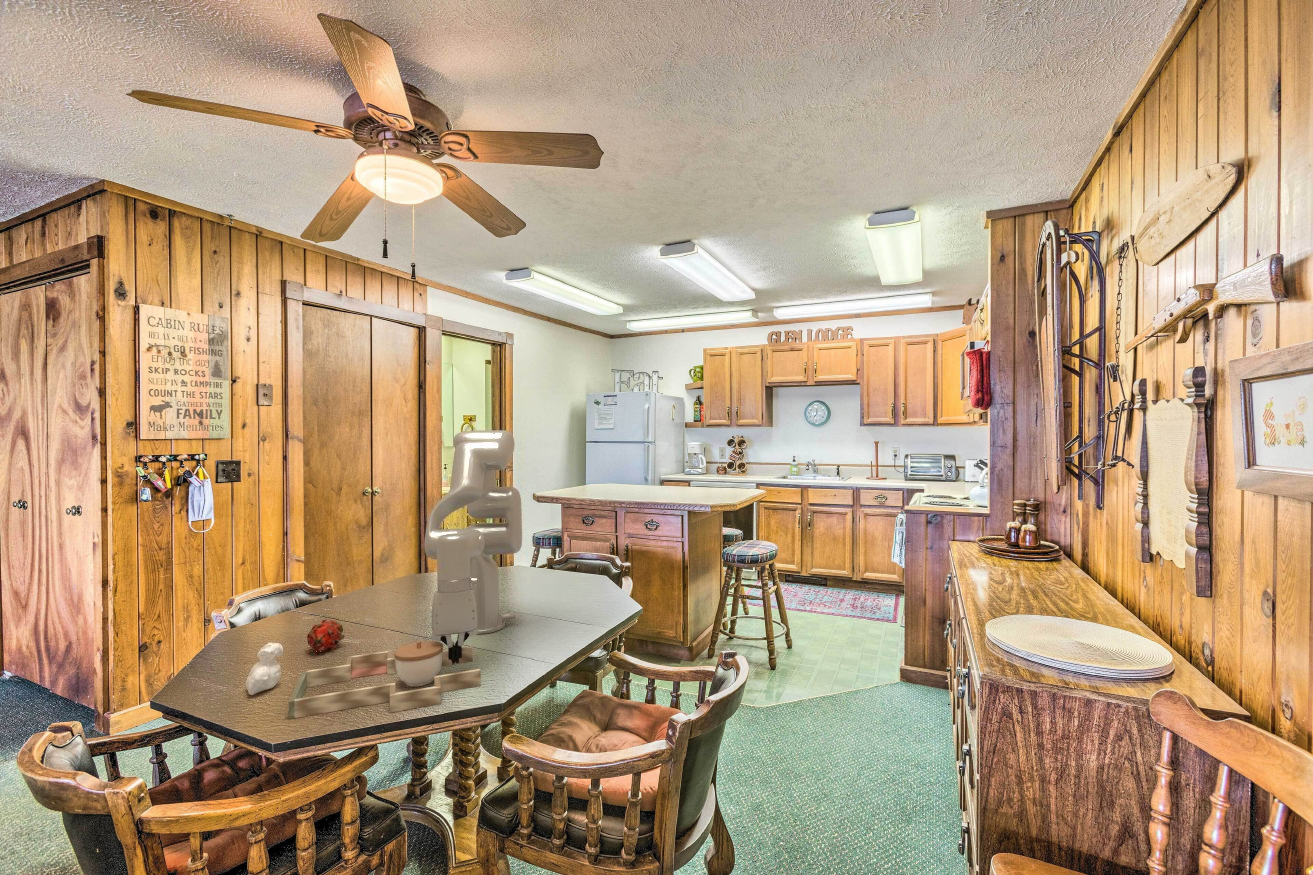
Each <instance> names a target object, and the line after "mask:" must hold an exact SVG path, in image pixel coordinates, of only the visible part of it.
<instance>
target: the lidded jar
mask: <svg viewBox="0 0 1313 875" xmlns="http://www.w3.org/2000/svg"><path fill="white" fill-rule="evenodd" d="M443 644H444V643H443V642H441V641H433V640H422V641H421V640H417V641H416V642H411V643H407V644H405V645H402V646H400V647H398V648H397V649H395V651H394V653H393V658H395V666H396V671H397V673H396V674H397V676H398V677H399V679H400V680H401V681H402V682H404V683H405V685H406V686H408V687H413V688H414V687H415V688H416V687H421V686H426V685H428V684H431V683H432V682H434V676H438V675H439V673H440V671H441V668H442V667H443V666H442V661H443V650H444V645H443Z"/></svg>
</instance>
